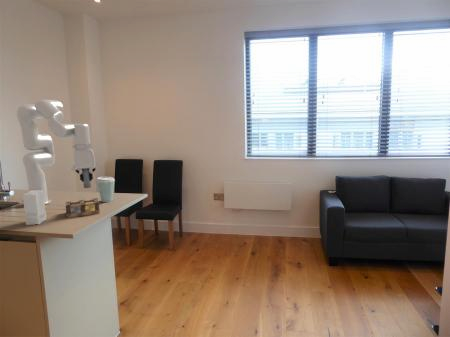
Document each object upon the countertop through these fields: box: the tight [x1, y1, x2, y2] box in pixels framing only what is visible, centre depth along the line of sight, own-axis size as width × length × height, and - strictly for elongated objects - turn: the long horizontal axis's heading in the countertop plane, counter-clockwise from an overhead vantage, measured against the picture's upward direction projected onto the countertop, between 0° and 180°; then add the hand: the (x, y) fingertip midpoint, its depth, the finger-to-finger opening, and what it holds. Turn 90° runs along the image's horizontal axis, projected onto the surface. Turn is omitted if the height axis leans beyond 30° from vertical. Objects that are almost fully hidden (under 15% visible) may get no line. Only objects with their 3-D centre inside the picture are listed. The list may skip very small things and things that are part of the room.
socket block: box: [65, 197, 101, 219], centre depth 171 cm, size 16×11×6 cm
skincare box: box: [22, 190, 47, 226], centre depth 157 cm, size 8×7×16 cm
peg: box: [82, 168, 92, 189], centre depth 170 cm, size 4×4×11 cm
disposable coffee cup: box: [96, 176, 116, 203], centre depth 195 cm, size 11×11×15 cm
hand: (86, 180), depth 171 cm, fingers closed on peg, 3 cm apart
